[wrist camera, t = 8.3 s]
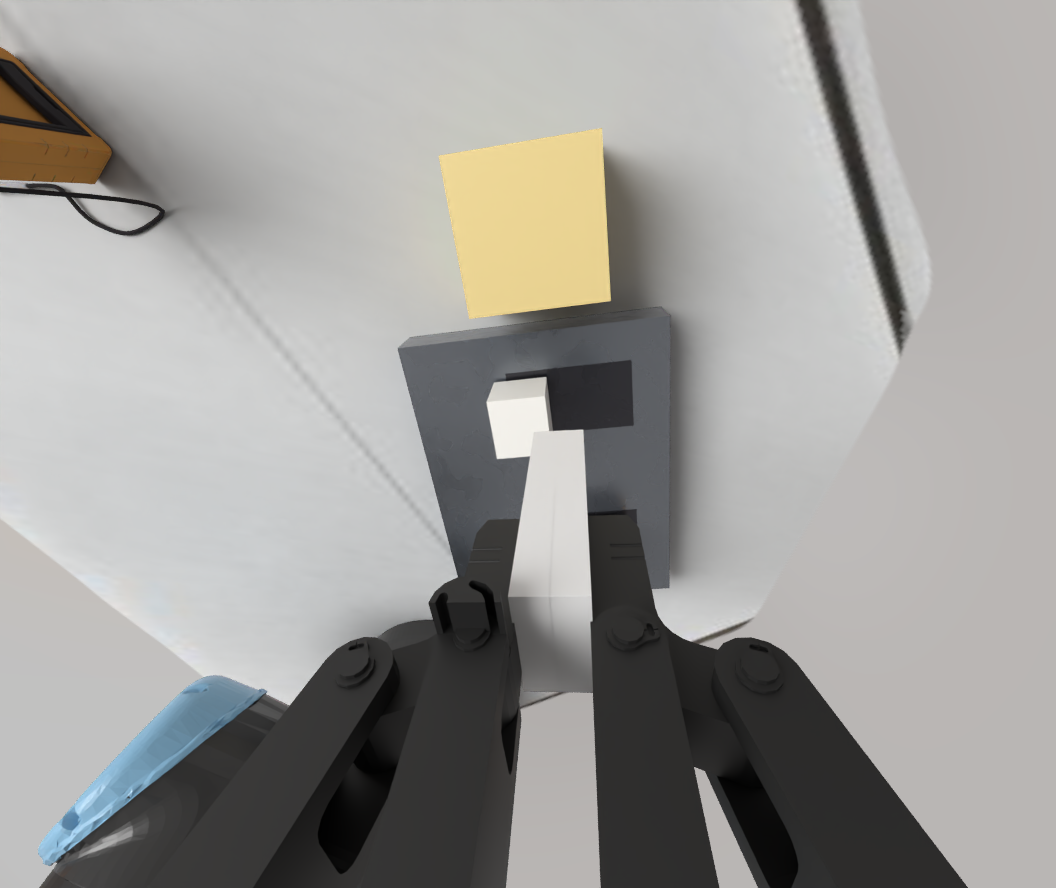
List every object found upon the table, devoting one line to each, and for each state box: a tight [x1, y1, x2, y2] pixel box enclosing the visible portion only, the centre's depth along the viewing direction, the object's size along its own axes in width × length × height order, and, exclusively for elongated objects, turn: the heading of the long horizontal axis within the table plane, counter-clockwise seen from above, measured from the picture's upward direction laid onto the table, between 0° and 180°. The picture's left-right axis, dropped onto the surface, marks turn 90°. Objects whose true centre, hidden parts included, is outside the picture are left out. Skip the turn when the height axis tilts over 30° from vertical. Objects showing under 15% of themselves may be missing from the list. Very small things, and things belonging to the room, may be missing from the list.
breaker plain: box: [486, 377, 553, 459], centre depth 30 cm, size 4×4×4 cm
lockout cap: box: [439, 128, 611, 319], centre depth 27 cm, size 8×8×6 cm
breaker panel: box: [398, 307, 670, 589], centre depth 36 cm, size 23×18×3 cm
